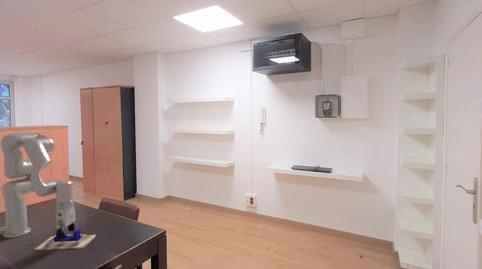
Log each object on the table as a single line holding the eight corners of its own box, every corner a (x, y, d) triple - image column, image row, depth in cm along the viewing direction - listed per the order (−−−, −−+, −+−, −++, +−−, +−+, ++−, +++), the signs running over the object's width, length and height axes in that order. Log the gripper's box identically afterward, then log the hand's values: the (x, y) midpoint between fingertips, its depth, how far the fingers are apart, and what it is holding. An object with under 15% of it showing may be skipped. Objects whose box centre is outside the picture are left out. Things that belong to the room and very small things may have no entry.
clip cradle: (34, 250, 135) (34, 245, 135) (51, 237, 149) (51, 233, 149) (83, 248, 137) (83, 243, 137) (95, 236, 151) (95, 232, 151)
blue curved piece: (54, 242, 142) (53, 231, 141) (60, 238, 146) (60, 228, 146) (74, 243, 141) (74, 232, 140) (80, 239, 145) (80, 229, 145)
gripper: (62, 209, 134) (64, 242, 135) (80, 198, 151) (81, 227, 152) (47, 209, 133) (48, 242, 134) (66, 199, 150) (68, 228, 151)
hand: (66, 234), depth 143 cm, fingers open, 9 cm apart
